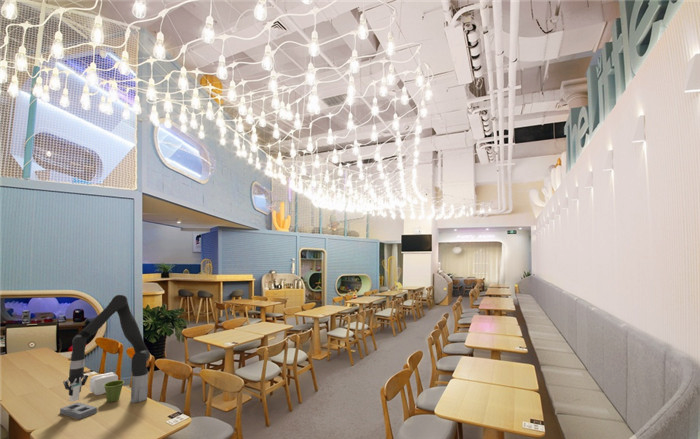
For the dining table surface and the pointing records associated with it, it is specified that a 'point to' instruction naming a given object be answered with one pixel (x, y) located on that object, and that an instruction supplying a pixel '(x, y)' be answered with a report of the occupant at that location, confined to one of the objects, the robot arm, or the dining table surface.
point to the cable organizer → (101, 382)
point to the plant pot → (113, 390)
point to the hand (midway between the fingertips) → (74, 394)
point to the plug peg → (75, 392)
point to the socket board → (78, 410)
